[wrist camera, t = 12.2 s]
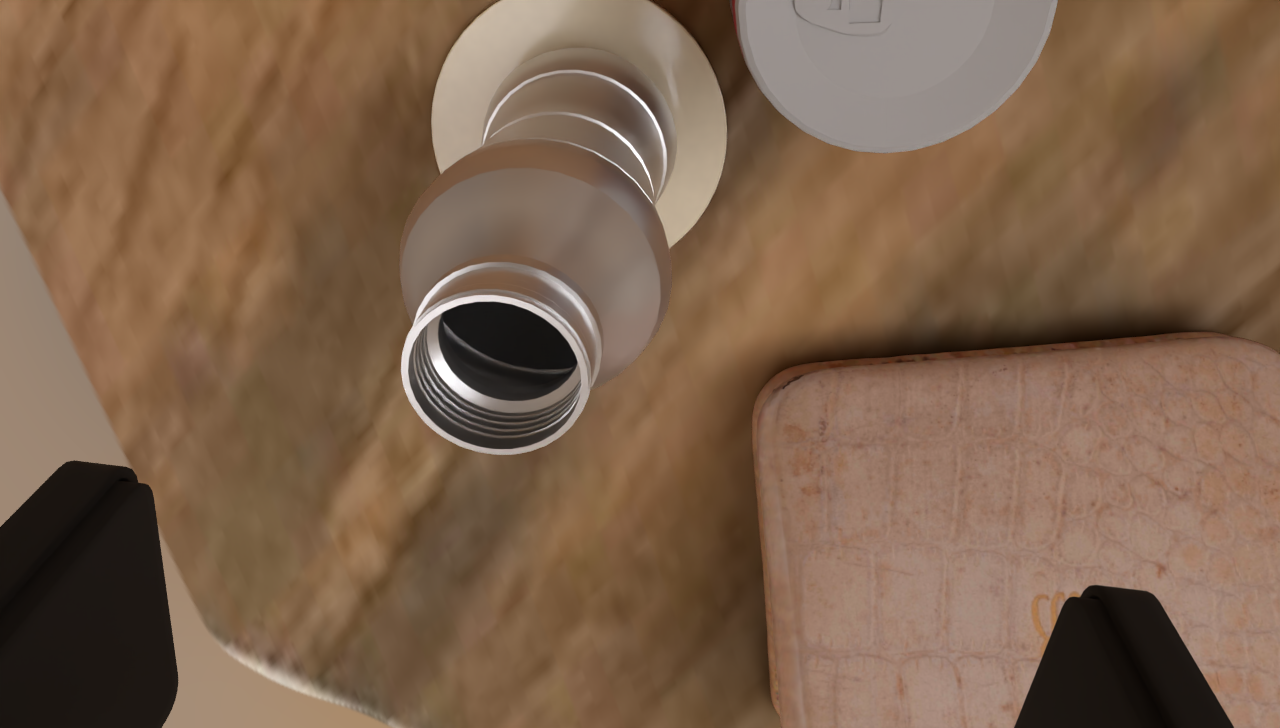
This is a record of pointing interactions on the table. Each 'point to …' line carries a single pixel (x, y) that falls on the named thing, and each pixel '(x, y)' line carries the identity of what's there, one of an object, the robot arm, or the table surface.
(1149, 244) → the table surface
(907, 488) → the case
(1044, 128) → the table surface
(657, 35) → the coaster
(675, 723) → the table surface
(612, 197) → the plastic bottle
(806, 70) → the canned food
